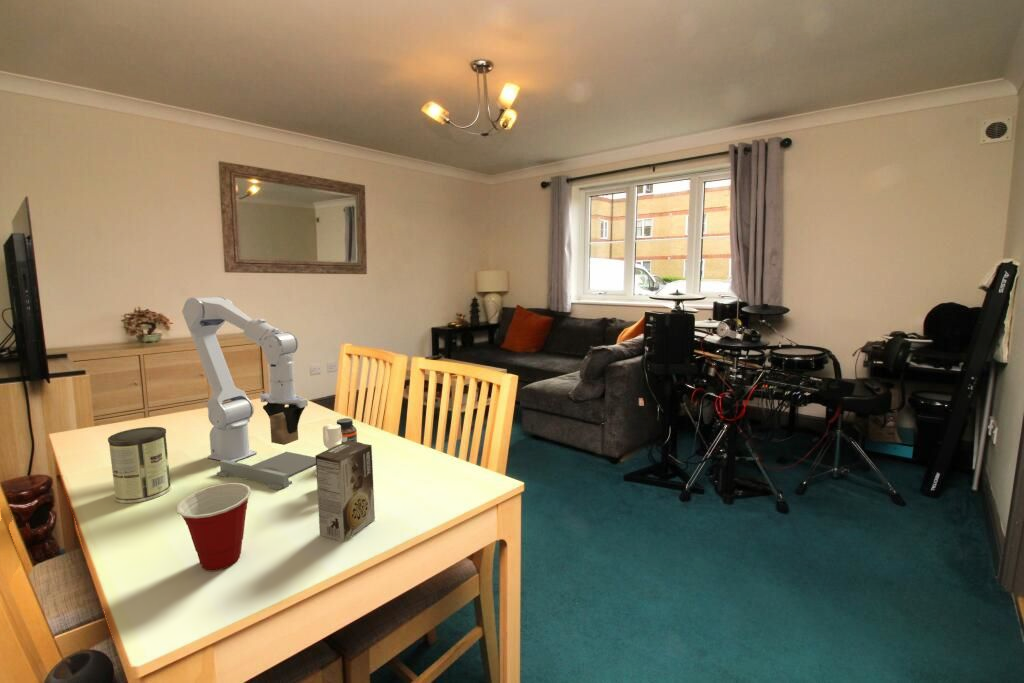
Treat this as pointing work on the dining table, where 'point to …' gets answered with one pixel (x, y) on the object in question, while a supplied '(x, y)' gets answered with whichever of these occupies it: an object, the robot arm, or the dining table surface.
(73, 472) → the dining table surface
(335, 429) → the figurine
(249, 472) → the low wall
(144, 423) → the dining table surface
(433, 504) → the dining table surface
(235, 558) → the plastic cup
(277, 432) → the walnut block
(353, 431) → the supplement bottle
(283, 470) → the mat
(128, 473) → the coffee can
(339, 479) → the coffee box
